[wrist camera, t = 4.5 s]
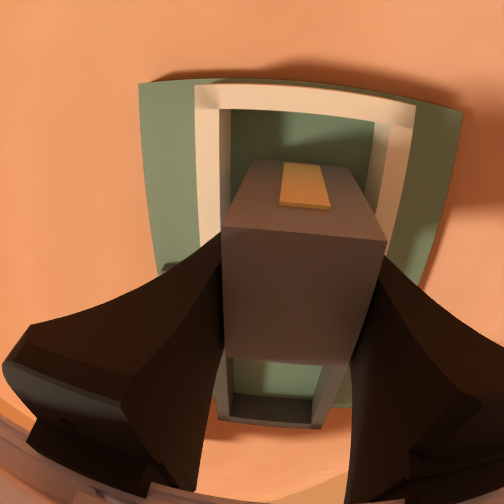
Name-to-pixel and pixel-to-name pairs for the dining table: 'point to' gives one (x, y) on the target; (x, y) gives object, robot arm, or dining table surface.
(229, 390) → the board
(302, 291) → the plug
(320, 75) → the dining table surface
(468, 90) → the dining table surface
